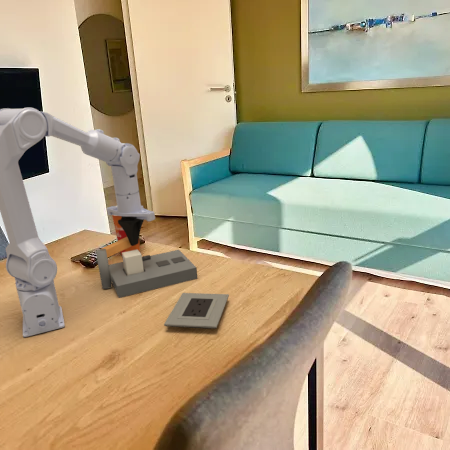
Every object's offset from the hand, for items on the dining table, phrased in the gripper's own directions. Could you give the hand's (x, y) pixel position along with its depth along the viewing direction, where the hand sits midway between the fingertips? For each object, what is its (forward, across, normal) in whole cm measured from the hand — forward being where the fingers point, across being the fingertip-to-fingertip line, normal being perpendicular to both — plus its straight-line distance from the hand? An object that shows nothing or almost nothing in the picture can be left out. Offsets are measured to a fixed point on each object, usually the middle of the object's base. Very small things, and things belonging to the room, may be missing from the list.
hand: (134, 244), depth 111 cm
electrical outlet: (+9, -27, +10) cm, 30 cm away
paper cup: (+8, +13, -10) cm, 18 cm away
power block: (+8, -5, 0) cm, 9 cm away
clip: (+8, +2, +5) cm, 9 cm away
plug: (+8, -3, +3) cm, 9 cm away
